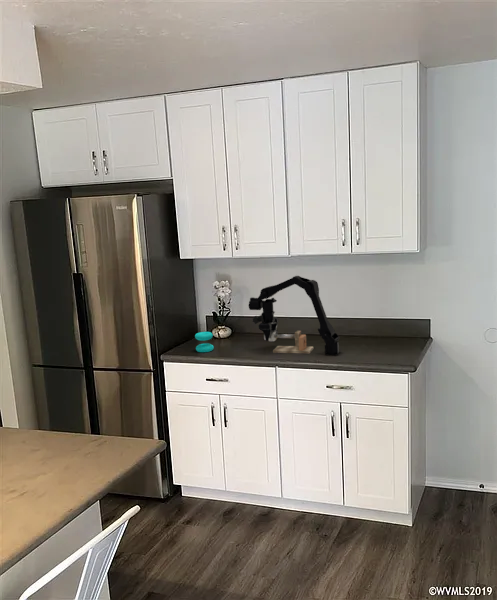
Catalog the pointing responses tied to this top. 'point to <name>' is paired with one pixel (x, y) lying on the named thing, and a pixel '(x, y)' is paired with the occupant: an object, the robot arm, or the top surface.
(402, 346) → the top surface
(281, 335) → the shaft
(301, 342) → the spacer
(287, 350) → the bracket
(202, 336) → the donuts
